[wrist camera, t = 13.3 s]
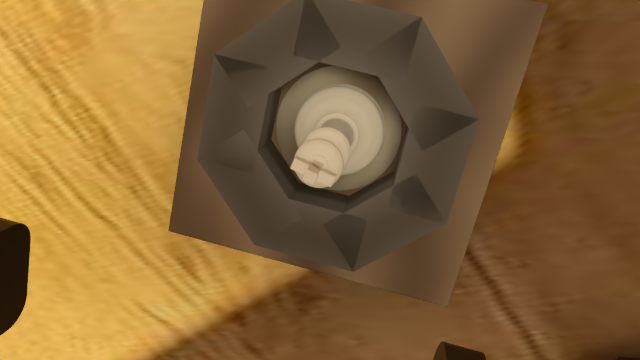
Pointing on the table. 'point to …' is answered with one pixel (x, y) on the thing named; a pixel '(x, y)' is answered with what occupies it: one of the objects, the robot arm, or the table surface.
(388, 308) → the table surface
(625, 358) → the muffin
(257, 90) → the collar socket
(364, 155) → the chess piece
